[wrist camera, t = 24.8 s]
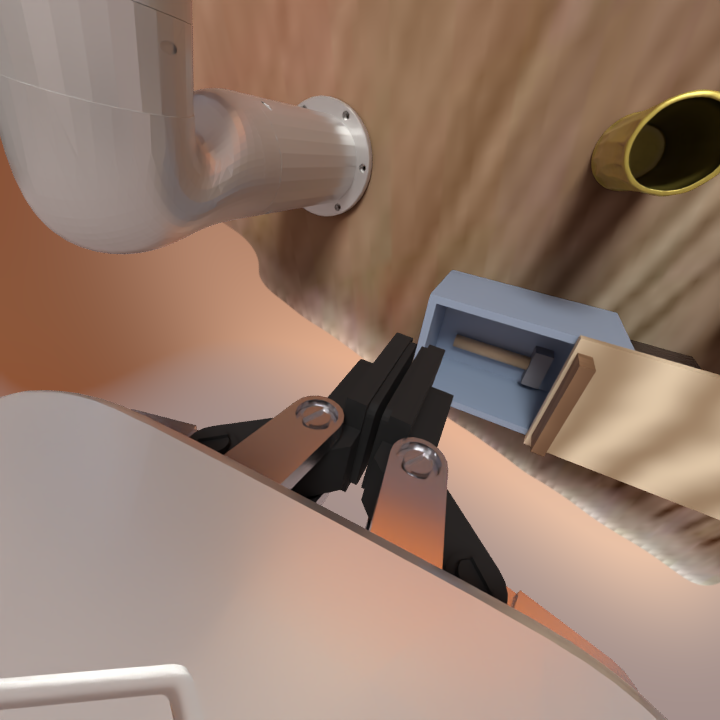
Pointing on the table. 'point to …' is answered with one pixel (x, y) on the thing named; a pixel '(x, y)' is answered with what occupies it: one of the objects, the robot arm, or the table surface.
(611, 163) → the vase
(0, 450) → the robot arm
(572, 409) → the lid
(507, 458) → the table surface
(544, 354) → the toolbox
